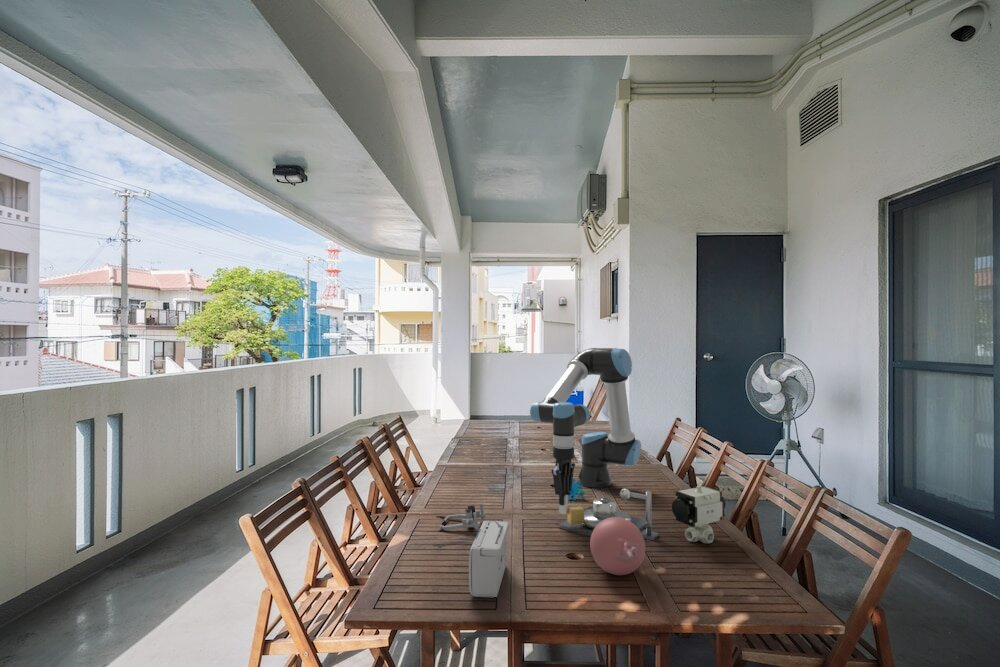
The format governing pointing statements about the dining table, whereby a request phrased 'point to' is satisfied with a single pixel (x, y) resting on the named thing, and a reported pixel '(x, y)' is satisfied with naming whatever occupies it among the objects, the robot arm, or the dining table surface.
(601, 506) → the cover
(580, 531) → the turntable base
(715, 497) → the ball valve
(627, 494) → the dial gauge
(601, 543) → the balloon
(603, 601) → the dining table surface
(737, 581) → the dining table surface
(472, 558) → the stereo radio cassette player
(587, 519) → the turntable
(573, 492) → the blue virus model
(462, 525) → the bike brake
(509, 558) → the dining table surface
